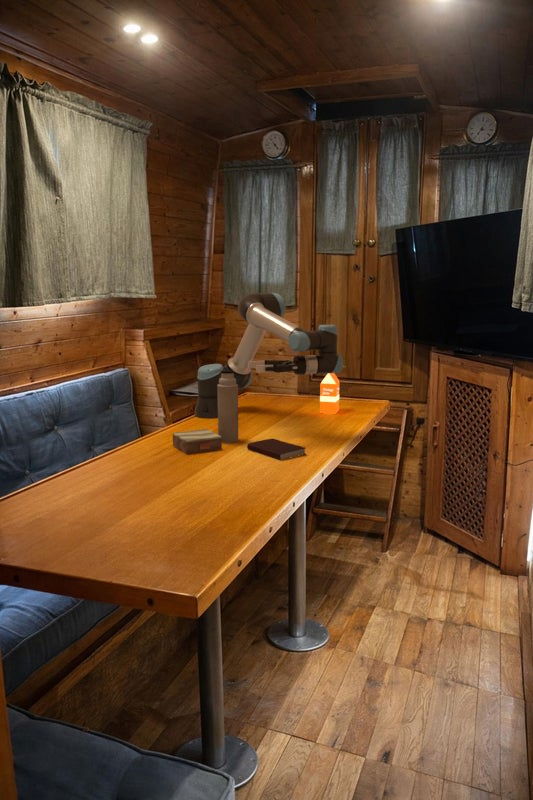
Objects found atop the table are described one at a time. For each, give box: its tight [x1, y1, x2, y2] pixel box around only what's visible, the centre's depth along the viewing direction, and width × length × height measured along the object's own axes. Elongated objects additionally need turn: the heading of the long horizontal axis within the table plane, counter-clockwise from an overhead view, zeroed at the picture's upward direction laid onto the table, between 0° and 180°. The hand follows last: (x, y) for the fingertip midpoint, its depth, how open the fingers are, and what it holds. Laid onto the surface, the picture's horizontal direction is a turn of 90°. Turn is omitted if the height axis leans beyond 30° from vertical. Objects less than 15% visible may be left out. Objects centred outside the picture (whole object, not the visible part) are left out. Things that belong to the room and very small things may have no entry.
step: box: [172, 428, 223, 455], centre depth 246 cm, size 15×14×5 cm
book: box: [246, 438, 306, 461], centre depth 240 cm, size 12×19×3 cm, turn 38°
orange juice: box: [319, 373, 340, 415], centre depth 309 cm, size 8×9×20 cm
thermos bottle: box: [217, 370, 239, 444], centre depth 254 cm, size 8×8×28 cm
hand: (252, 366), depth 254 cm, fingers open, 13 cm apart
